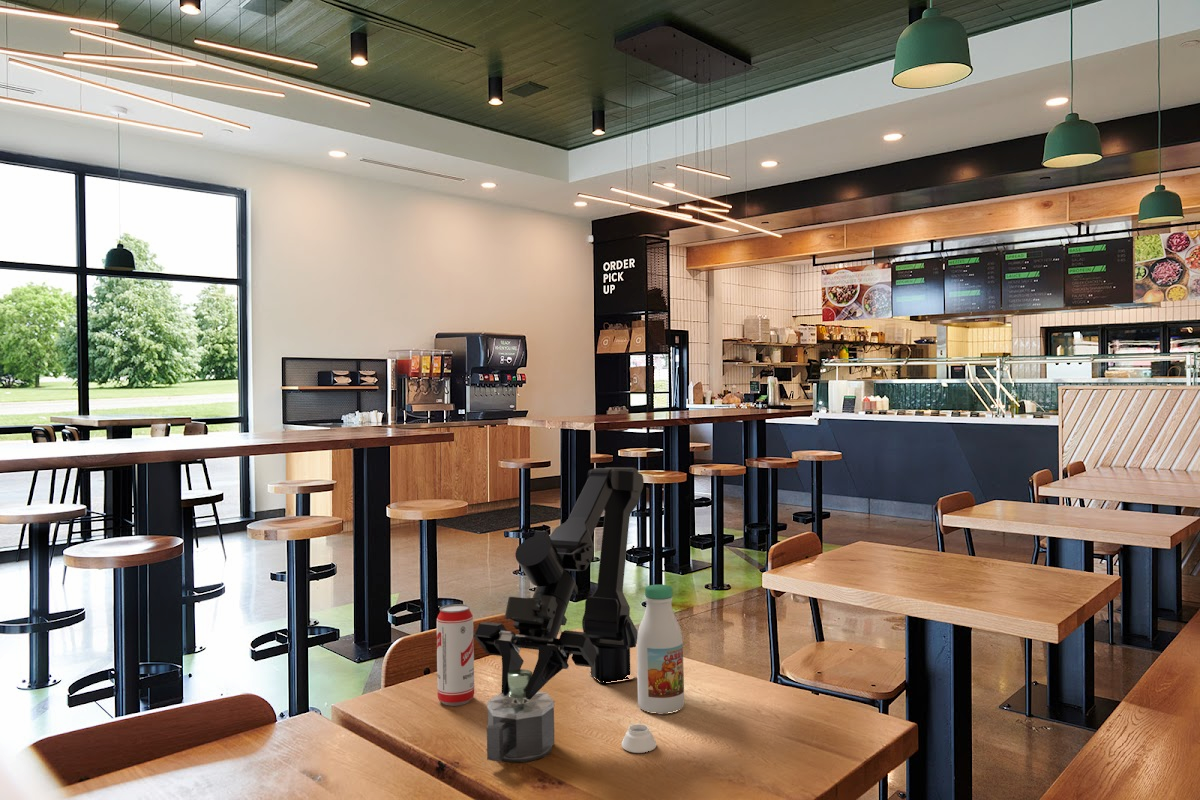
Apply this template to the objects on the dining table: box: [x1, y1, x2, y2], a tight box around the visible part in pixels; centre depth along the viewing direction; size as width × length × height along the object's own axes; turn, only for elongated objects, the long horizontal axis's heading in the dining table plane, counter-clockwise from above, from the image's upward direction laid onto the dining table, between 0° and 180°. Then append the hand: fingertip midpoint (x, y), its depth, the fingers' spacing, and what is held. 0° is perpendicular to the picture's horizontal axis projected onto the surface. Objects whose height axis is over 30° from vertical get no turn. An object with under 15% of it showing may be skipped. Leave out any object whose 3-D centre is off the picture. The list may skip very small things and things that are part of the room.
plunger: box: [508, 668, 533, 704], centre depth 117 cm, size 4×4×10 cm
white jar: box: [621, 723, 657, 754], centre depth 117 cm, size 5×3×5 cm
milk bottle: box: [636, 584, 685, 713], centre depth 133 cm, size 8×8×20 cm
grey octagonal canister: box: [486, 691, 555, 764], centre depth 116 cm, size 12×9×7 cm
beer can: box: [436, 603, 475, 707], centre depth 138 cm, size 6×6×16 cm
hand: (515, 696), depth 116 cm, fingers closed on plunger, 4 cm apart
